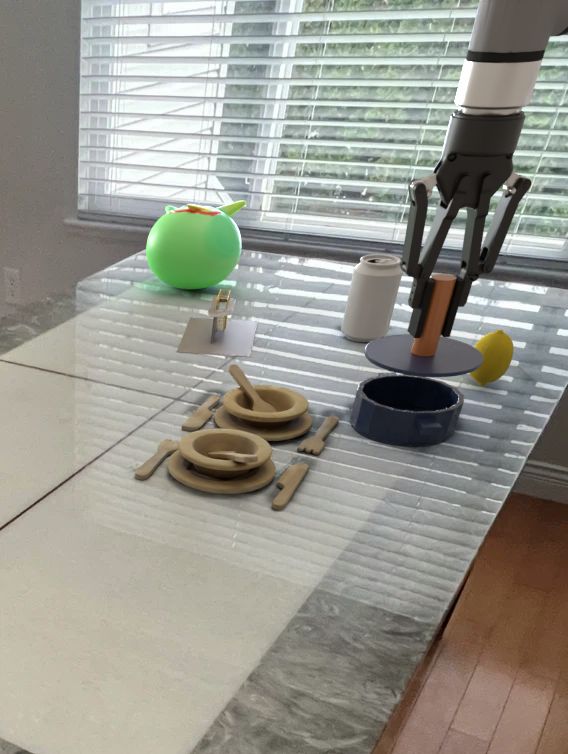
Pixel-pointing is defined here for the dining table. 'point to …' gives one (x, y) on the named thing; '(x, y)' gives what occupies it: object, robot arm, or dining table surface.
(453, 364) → the pan lid
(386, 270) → the can
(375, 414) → the pan
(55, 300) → the dining table surface
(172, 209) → the toy bird
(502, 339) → the lemon
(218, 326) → the platform
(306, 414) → the tableware set
